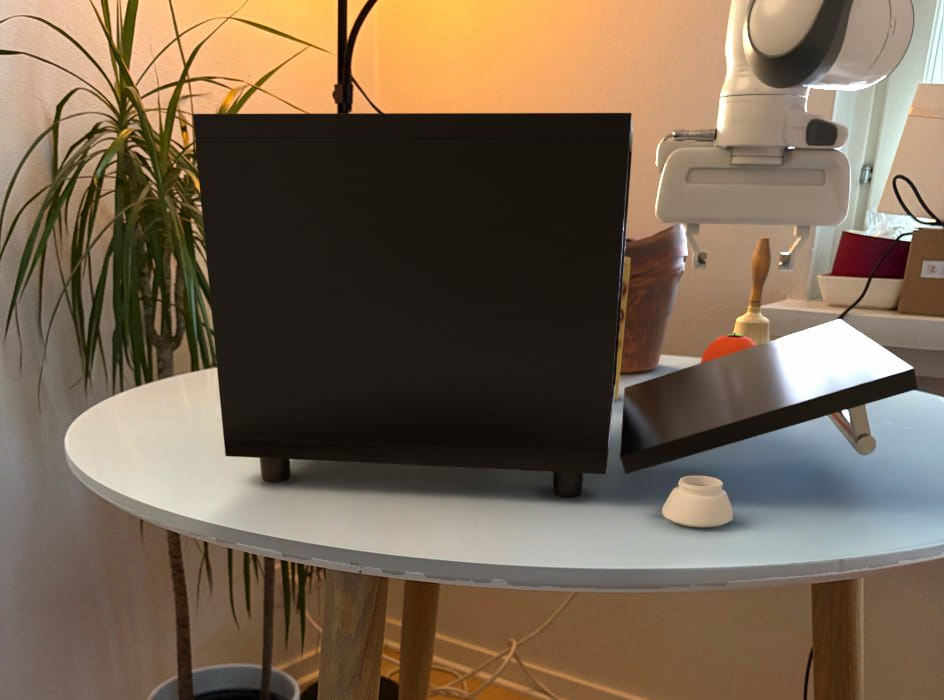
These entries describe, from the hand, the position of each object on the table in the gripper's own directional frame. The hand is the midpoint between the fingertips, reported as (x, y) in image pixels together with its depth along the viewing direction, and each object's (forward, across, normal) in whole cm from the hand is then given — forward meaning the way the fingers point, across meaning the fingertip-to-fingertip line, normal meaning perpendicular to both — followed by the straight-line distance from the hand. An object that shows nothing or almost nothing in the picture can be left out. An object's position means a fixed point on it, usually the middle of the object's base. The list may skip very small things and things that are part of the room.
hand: (741, 269), depth 109 cm
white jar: (+14, -6, -49) cm, 51 cm away
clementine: (+14, 0, 0) cm, 14 cm away
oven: (+14, -28, -32) cm, 45 cm away
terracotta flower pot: (+14, -14, +17) cm, 27 cm away
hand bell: (+14, +5, +28) cm, 32 cm away
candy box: (+14, -16, -2) cm, 21 cm away
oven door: (+13, -11, -32) cm, 36 cm away
